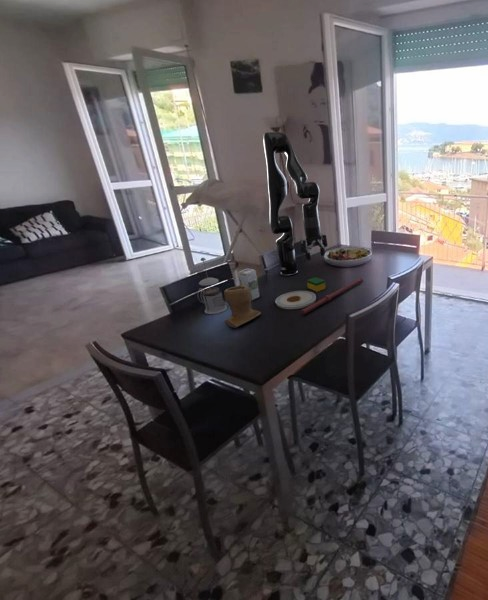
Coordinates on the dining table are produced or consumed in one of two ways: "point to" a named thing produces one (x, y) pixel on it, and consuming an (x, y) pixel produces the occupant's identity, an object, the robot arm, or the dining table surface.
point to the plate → (295, 300)
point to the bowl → (347, 256)
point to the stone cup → (239, 306)
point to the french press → (218, 299)
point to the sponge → (316, 284)
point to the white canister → (250, 282)
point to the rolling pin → (330, 296)
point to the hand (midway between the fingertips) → (315, 257)
